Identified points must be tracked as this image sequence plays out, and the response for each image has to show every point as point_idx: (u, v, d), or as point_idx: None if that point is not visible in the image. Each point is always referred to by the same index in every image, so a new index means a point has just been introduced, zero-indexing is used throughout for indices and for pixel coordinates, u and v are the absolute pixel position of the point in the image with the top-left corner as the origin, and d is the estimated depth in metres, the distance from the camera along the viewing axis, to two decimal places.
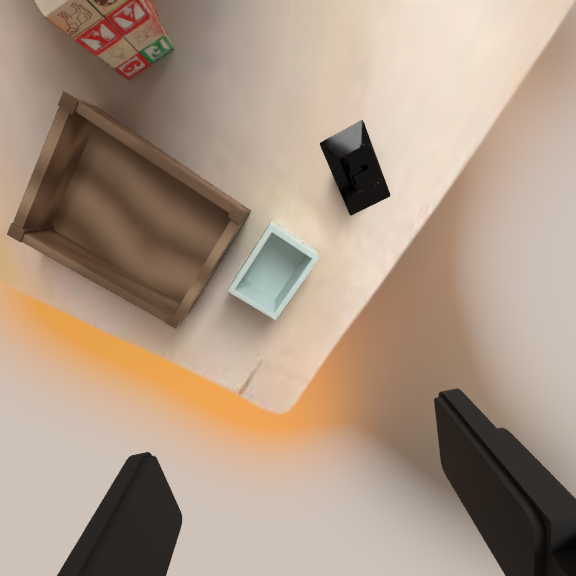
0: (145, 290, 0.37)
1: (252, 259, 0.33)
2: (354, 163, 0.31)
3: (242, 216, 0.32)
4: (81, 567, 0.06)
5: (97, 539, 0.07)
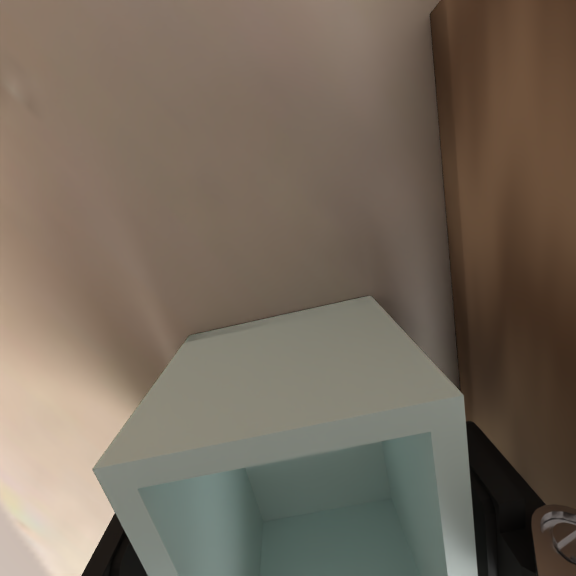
0: None
1: None
2: None
3: None
4: (119, 539, 0.07)
5: None
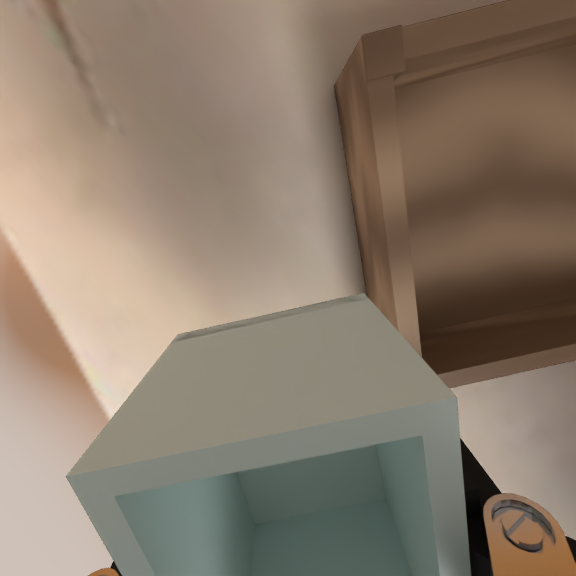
0: (472, 59, 0.13)
1: None
2: None
3: None
4: None
5: None
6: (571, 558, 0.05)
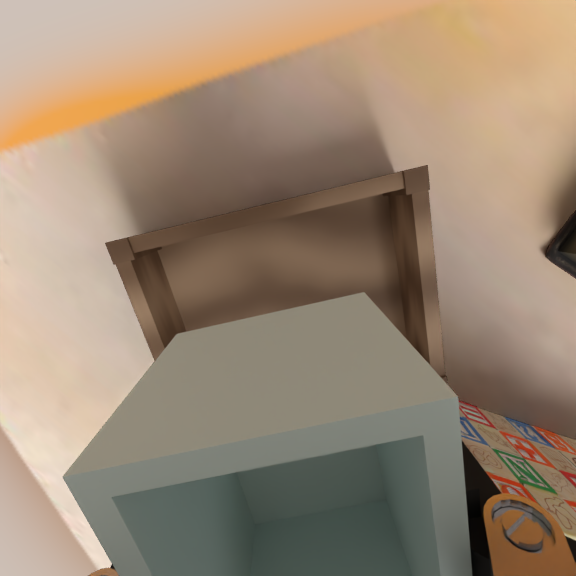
0: None
1: None
2: None
3: None
4: None
5: None
6: (569, 557, 0.05)
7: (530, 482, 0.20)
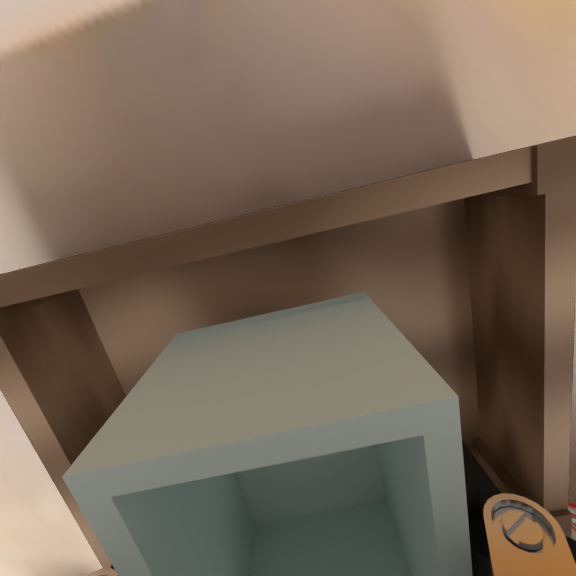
0: None
1: None
2: None
3: None
4: None
5: None
6: (569, 557, 0.05)
7: None
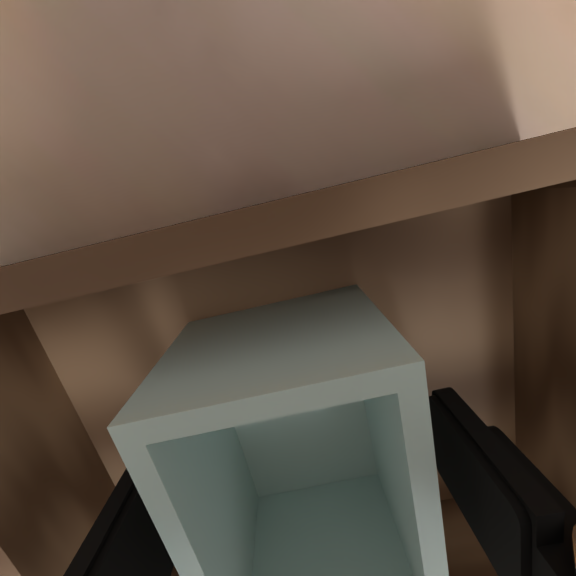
0: None
1: (425, 535, 0.07)
2: None
3: None
4: (92, 559, 0.06)
5: (106, 532, 0.07)
6: None
7: None
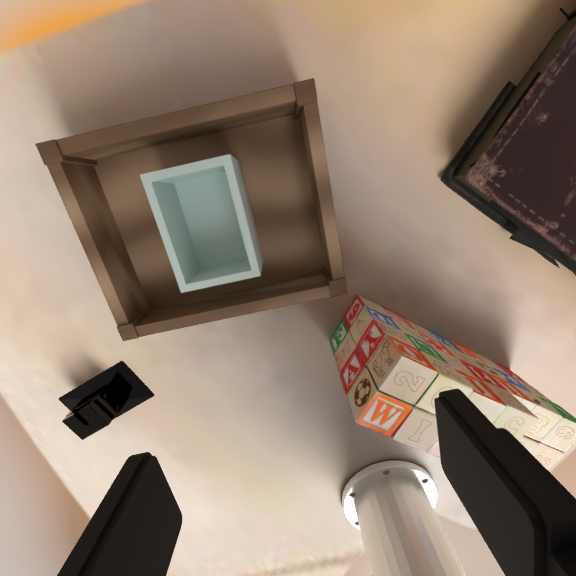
0: (134, 146, 0.24)
1: (241, 222, 0.22)
2: (85, 413, 0.30)
3: (122, 335, 0.26)
4: (81, 568, 0.06)
5: (97, 539, 0.07)
6: None
7: (426, 351, 0.24)
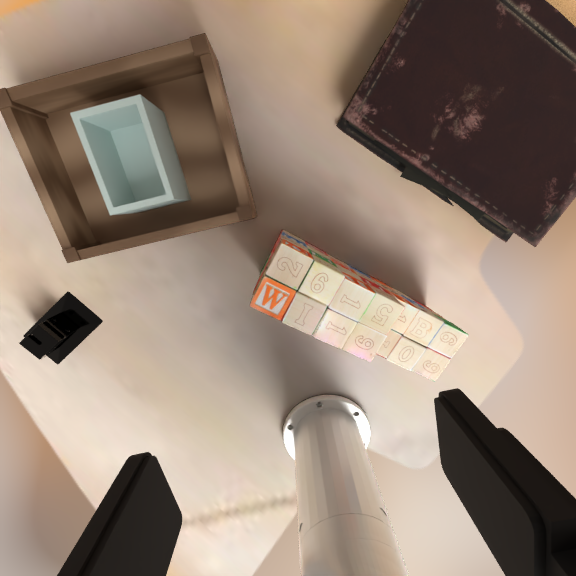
0: (73, 98, 0.29)
1: (154, 152, 0.27)
2: (36, 332, 0.34)
3: (66, 258, 0.31)
4: (81, 567, 0.06)
5: (97, 539, 0.07)
6: None
7: (319, 257, 0.28)
